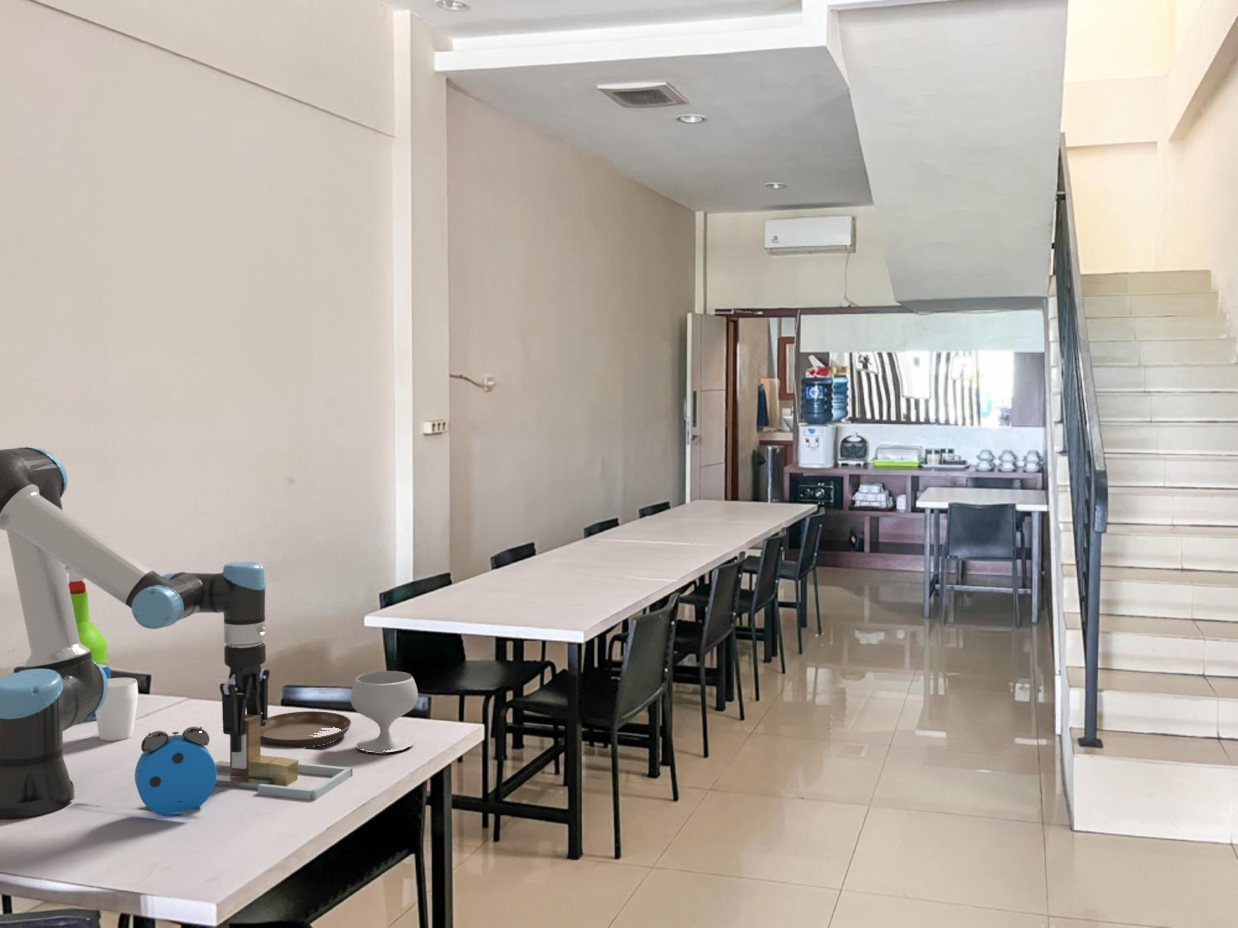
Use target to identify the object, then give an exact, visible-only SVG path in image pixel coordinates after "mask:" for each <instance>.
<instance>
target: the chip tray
mask: <svg viewBox="0 0 1238 928" xmlns="http://www.w3.org/2000/svg"><path fill="white" fill-rule="evenodd" d="M298 773H301V774H309V775H310V774H312V775H320V776H322V775H323V776H331V777H330V778H329V779H327V780H326V781H324V782H322V783H321V784H320V785H318V786H316V787H315V788H305V787H297V786H296V787H295V786H278V785H268V784H260V785H258V790H257V794H258V795H268V796H275V797H285V798H295V799H301V800H302V799H303V800H311V801H317V800H319V798H322V797H323V796H324V795H326V794H327V793H329V792H330V791H332V790H333V789H335V788H336V787H338V786H339V785H341V784H342V783H345V782H346V781H347V780H348V779H350V778H351V777H353V767H344V766H333V765H327V764H326V765H325V764H324V765H323V764H315V763H304V762H298Z"/></svg>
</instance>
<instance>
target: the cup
mask: <svg viewBox="0 0 1238 928" xmlns="http://www.w3.org/2000/svg"><path fill="white" fill-rule="evenodd" d="M107 681H108V691H107V695H106V698H105V700H104V702H103V704H102V705H101V707H100V708H99V709H98V710H97V711H96V712H95V713H96V719H97V720H96V724H97V725H96V726H97V730H98V735H99V737H98V738H99V739H100V740H102V741H107V742H115V741H123V740H127V739H129V738H131V737H132V736H133V735H134V729H135V723H136V721H135V720H136V715H137V706H138V700H139V688H138V680H137V679H136V678H133V677H111V679H107Z"/></svg>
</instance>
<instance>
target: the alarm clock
mask: <svg viewBox="0 0 1238 928" xmlns="http://www.w3.org/2000/svg"><path fill="white" fill-rule="evenodd" d="M171 734H172V735H169V734H168V733H167V732H165V731H163V730H155V731H152V732H148V734H146V736H145V737H144V738H143V740H142V741H141V744H140V749H141V752H142V753H141V755H140V756H139V759H138V761H137V763H136V766H135V770H134V781H135V782H134V783H135V787H136V788H137V792H138V795H139V797H140V799H141V801H142V803H143V804H144V805H145V806H146V808H148V809H150V810H151V811H152V812H154V813H156V814H158V815H162V816H167V817H178V816H183V815H184V814H182V812H186V811H193V810H197V809H199V807H200V806H202V805H203V804H205V802H206V801H207V800H208V799H209V798H210V796H211V794H212V793H213V791H214V789H215V786H216V785H215V783H216V776H217V772H216V766H215V763H216V762H215V761H214V759H213V756H212V755H211V753H210V752H209V750H208V748H207V747H206V746H209V744H210V736H209V733H208V732H207V731H206V730H205V729H203V727H202V726H200V727H198V726H189V727H187V728H185V729H184V730H183V731H182V733H181V734H179V731H172V733H171ZM179 812H181V813H179Z"/></svg>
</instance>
